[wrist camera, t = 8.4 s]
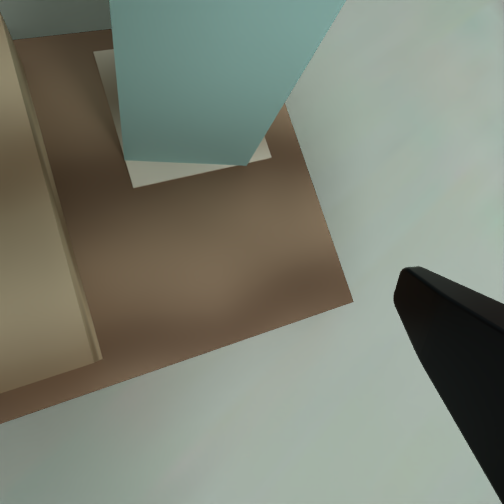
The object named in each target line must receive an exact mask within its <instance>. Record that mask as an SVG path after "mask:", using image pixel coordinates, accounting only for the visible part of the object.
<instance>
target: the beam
mask: <svg viewBox="0 0 504 504" xmlns="http://www.w3.org/2000/svg"><path fill="white" fill-rule="evenodd" d="M101 359H103V358H102V354H101V351H100V347H99V343H98V339H97V336H96V332H95V328H94V325H93V321H92V317H91V314H90V310H89V306H88V303H87V299H86V295H85V292H84V288H83V284H82V281H81V277H80V273H79V270H78V266H77V262H76V259H75V255H74V251H73V248H72V244H71V240H70V237H69V233H68V229H67V226H66V222H65V218H64V215H63V211H62V207H61V204H60V200H59V196H58V193H57V189H56V185H55V182H54V178H53V174H52V171H51V167H50V163H49V160H48V156H47V152H46V149H45V145H44V141H43V138H42V134H41V130H40V127H39V123H38V119H37V116H36V112H35V108H34V105H33V101H32V97H31V93H30V90H29V86H28V82H27V79H26V75H25V71H24V68H23V64H22V61H21V59H20V56H19V54H18V52H17V49H16V47H15V45H14V42H13V40H12V38H11V35H10V33H9V31H8V28H7V26H6V24H5V21H4V19H3V17H2V14H1V12H0V393H3V392H6V391H9V390H13V389H16V388H19V387H22V386H25V385H28V384H31V383H34V382H37V381H40V380H43V379H46V378H49V377H52V376H55V375H58V374H61V373H65V372H68V371H71V370H74V369H77V368H80V367H83V366H86V365H89V364H92V363H95V362H97V361H99V360H101Z"/></svg>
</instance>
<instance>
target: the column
mask: <svg viewBox="0 0 504 504" xmlns="http://www.w3.org/2000/svg"><path fill="white" fill-rule="evenodd" d="M345 1H346V0H109V5H110V15H111V26H112V37H113V47H114V58H115V68H116V79H117V89H118V100H119V110H120V121H121V131H122V142H123V152H124V160H128V161H151V162H173V163H196V164H219V165H242V166H247V164H248V163H249V161H250V159H251V158H252V156H253V154H254V153H255V151H256V149H257V148H258V146H259V144H260V143H261V141H262V139H263V138H264V136H265V134H266V133H267V131H268V129H269V128H270V126H271V124H272V123H273V121H274V119H275V118H276V116H277V114H278V113H279V111H280V109H281V108H282V106H283V104H284V103H285V101H286V99H287V98H288V96H289V94H290V93H291V91H292V89H293V88H294V86H295V84H296V83H297V81H298V79H299V78H300V76H301V74H302V73H303V71H304V70H305V68H306V66H307V65H308V63H309V61H310V60H311V58H312V56H313V55H314V53H315V51H316V50H317V48H318V46H319V45H320V43H321V41H322V40H323V38H324V36H325V35H326V33H327V31H328V30H329V28H330V26H331V25H332V23H333V21H334V20H335V18H336V16H337V15H338V13H339V11H340V10H341V8H342V6H343V5H344V3H345Z"/></svg>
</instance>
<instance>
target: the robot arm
mask: <svg viewBox="0 0 504 504" xmlns="http://www.w3.org/2000/svg"><path fill="white" fill-rule="evenodd" d="M394 304H395V307H396V309H397V312H398V314H399V316H400V318H401V321H402V323H403V325H404V327H405V330H406V332H407V334H408V336H409V339H410V341H411V343H412V345H413V348H414V350H415V352H416V354H417V356H418V358H419V360H420V362H421V364H422V365H423V367H424V369H425V371H426V372H427V374H428V376H429V378H430V379H431V381H432V383H433V385H434V386H435V388H436V390H437V391H438V393H439V395H440V397H441V398H442V400H443V402H444V404H445V405H446V407H447V409H448V411H449V412H450V414H451V416H452V417H453V419H454V421H455V423H456V424H457V426H458V428H459V430H460V431H461V433H462V435H463V437H464V438H465V440H466V442H467V443H468V445H469V447H470V449H471V450H472V452H473V454H474V456H475V457H476V459H477V461H478V463H479V464H480V466H481V468H482V469H483V471H484V473H485V475H486V476H487V478H488V480H489V482H490V483H491V485H492V487H493V488H494V490H495V492H496V494H497V495H498V497H499V499H500V501H501V502H502V504H504V304H503V303H500V302H498V301H496V300H494V299H492V298H489V297H487V296H485V295H483V294H480V293H478V292H476V291H474V290H472V289H469V288H467V287H465V286H463V285H460V284H458V283H456V282H454V281H452V280H449V279H447V278H445V277H443V276H440V275H438V274H436V273H434V272H431V271H429V270H427V269H425V268H423V267H419V266H417V267H406V268H404V269H402V271H401V272H400V275H399V279H398V282H397V285H396V289H395V292H394Z"/></svg>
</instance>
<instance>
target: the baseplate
mask: <svg viewBox="0 0 504 504" xmlns="http://www.w3.org/2000/svg"><path fill="white" fill-rule="evenodd" d="M13 42H14V45H15V47H16V49H17V52H18V54H19V56H20V59H21V61H22V64H23V68H24V71H25V75H26V79H27V82H28V86H29V90H30V93H31V97H32V101H33V105H34V108H35V112H36V116H37V119H38V123H39V127H40V130H41V134H42V138H43V141H44V145H45V149H46V152H47V156H48V160H49V163H50V167H51V171H52V174H53V178H54V182H55V185H56V189H57V193H58V196H59V200H60V204H61V207H62V211H63V215H64V218H65V222H66V226H67V229H68V233H69V237H70V240H71V244H72V248H73V251H74V255H75V259H76V262H77V266H78V270H79V273H80V277H81V281H82V284H83V288H84V292H85V295H86V299H87V303H88V306H89V310H90V314H91V317H92V321H93V325H94V328H95V332H96V336H97V339H98V343H99V347H100V351H101V354H102V358H103V359H101V360H99V361H97V362H95V363H92V364H89V365H86V366H83V367H80V368H77V369H74V370H71V371H68V372H65V373H61V374H58V375H55V376H52V377H49V378H46V379H43V380H40V381H37V382H34V383H31V384H28V385H25V386H22V387H19V388H16V389H13V390H9V391H6V392H3V393H0V424H1V423H4V422H7V421H10V420H13V419H16V418H19V417H22V416H24V415H27V414H30V413H33V412H36V411H39V410H42V409H45V408H48V407H50V406H53V405H56V404H59V403H62V402H65V401H68V400H71V399H74V398H77V397H79V396H82V395H85V394H88V393H91V392H94V391H97V390H100V389H103V388H105V387H108V386H111V385H114V384H117V383H120V382H123V381H126V380H129V379H131V378H134V377H137V376H140V375H143V374H146V373H149V372H152V371H155V370H158V369H160V368H163V367H166V366H169V365H172V364H175V363H178V362H181V361H184V360H186V359H189V358H192V357H195V356H198V355H201V354H204V353H207V352H210V351H213V350H215V349H218V348H221V347H224V346H227V345H230V344H233V343H236V342H239V341H241V340H244V339H247V338H250V337H253V336H256V335H259V334H262V333H265V332H268V331H270V330H273V329H276V328H279V327H282V326H285V325H288V324H291V323H294V322H296V321H299V320H302V319H305V318H308V317H311V316H314V315H317V314H320V313H323V312H325V311H328V310H331V309H334V308H337V307H340V306H343V305H346V304H349V303H351V302H353V299H352V296H351V293H350V290H349V287H348V284H347V281H346V279H345V276H344V273H343V270H342V267H341V264H340V261H339V258H338V256H337V253H336V250H335V247H334V244H333V241H332V238H331V235H330V232H329V230H328V227H327V224H326V221H325V218H324V215H323V212H322V209H321V206H320V204H319V201H318V198H317V195H316V192H315V189H314V186H313V183H312V180H311V178H310V175H309V172H308V169H307V166H306V163H305V160H304V157H303V154H302V152H301V149H300V146H299V143H298V140H297V137H296V134H295V131H294V128H293V126H292V123H291V120H290V117H289V114H288V111H287V108H286V105H285V103H284V104H283V106H282V108H281V109H280V111H279V113H278V114H277V116H276V118H275V119H274V121H273V123H272V124H271V126H270V128H269V129H268V131H267V133H266V134H265V136H264V138H263V139H262V141H261V143H260V144H259V146H258V148H257V149H256V151H255V153H254V154H253V156H252V158H251V159H250V161H249V163H248V164H247V166H242V165H219V164H196V163H173V162H151V161H128V160H124V152H123V142H122V131H121V121H120V110H119V100H118V89H117V79H116V68H115V58H114V47H113V37H112V29H107V30H98V31H89V32H80V33H71V34H62V35H53V36H45V37H36V38H27V39H18V40H13Z"/></svg>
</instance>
